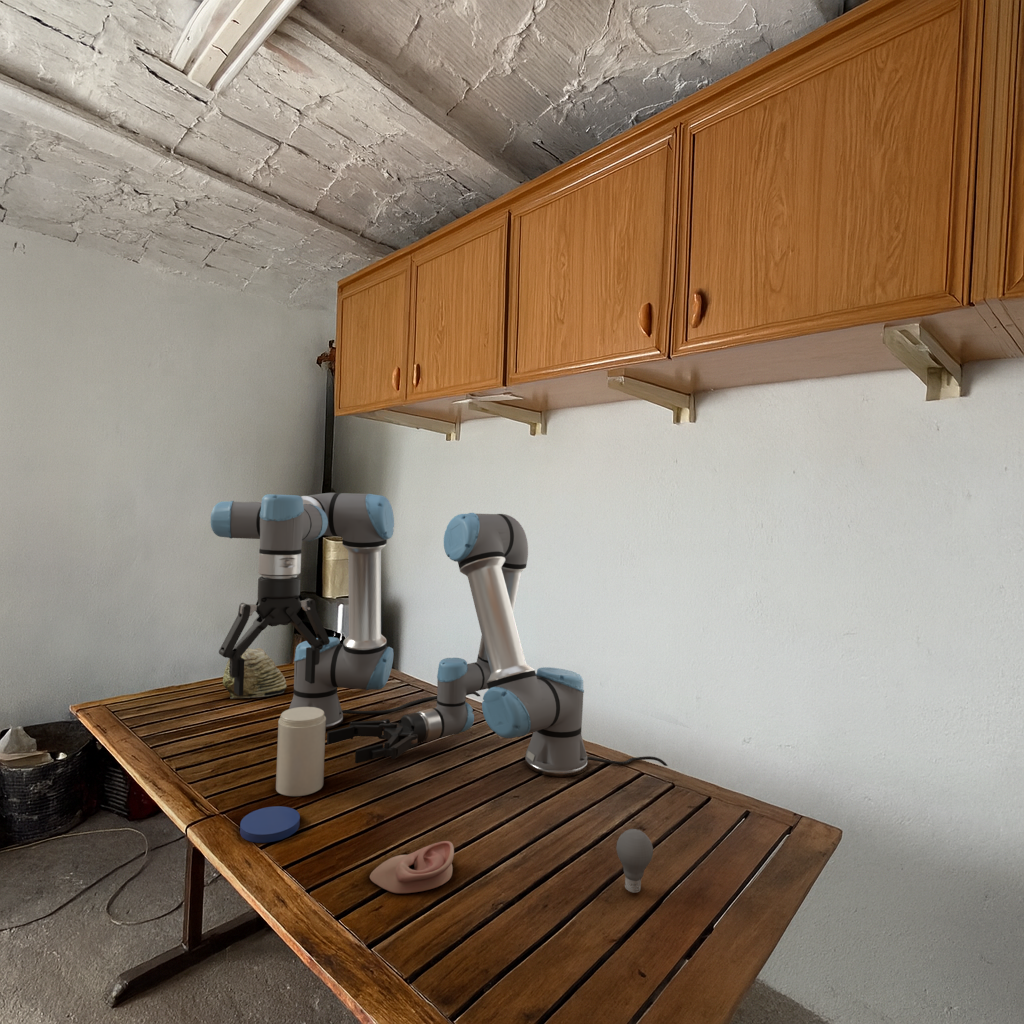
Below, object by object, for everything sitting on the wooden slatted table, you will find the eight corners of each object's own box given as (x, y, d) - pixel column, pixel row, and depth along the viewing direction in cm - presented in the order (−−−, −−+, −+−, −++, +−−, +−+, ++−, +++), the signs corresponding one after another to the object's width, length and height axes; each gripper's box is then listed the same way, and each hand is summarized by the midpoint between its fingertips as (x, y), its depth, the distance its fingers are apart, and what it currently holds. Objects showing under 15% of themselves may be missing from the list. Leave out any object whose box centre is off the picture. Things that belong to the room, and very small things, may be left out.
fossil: (218, 695, 195) (220, 647, 195) (278, 685, 208) (279, 640, 207) (228, 703, 189) (230, 653, 188) (289, 692, 201) (290, 645, 201)
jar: (311, 798, 133) (314, 723, 133) (266, 793, 134) (269, 719, 134) (330, 778, 143) (333, 708, 142) (289, 773, 144) (291, 704, 144)
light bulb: (610, 879, 108) (613, 822, 108) (644, 879, 109) (647, 822, 109) (619, 902, 102) (622, 840, 102) (655, 901, 103) (658, 840, 103)
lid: (245, 815, 125) (246, 808, 125) (302, 812, 127) (302, 804, 127) (234, 845, 114) (235, 836, 114) (296, 840, 117) (296, 832, 117)
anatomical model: (362, 863, 103) (389, 828, 114) (361, 887, 103) (389, 850, 114) (440, 876, 100) (460, 839, 112) (439, 901, 101) (459, 861, 112)
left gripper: (216, 581, 109) (212, 704, 109) (349, 575, 125) (345, 681, 126) (203, 576, 114) (198, 693, 115) (332, 570, 131) (328, 672, 131)
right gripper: (448, 758, 150) (368, 783, 135) (391, 727, 168) (316, 746, 154) (449, 727, 149) (369, 748, 135) (393, 699, 168) (317, 715, 153)
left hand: (275, 687), depth 120 cm, fingers open, 13 cm apart
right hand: (341, 747), depth 144 cm, fingers open, 13 cm apart
